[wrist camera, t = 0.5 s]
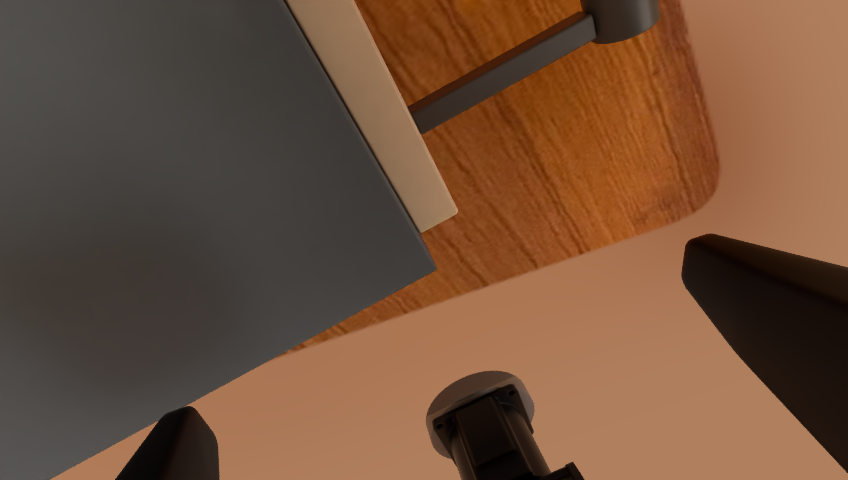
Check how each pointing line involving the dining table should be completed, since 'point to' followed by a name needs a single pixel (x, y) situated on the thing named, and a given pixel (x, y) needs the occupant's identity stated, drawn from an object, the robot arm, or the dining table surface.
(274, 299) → the cabinet
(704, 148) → the dining table surface
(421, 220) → the drawer
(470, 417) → the robot arm
